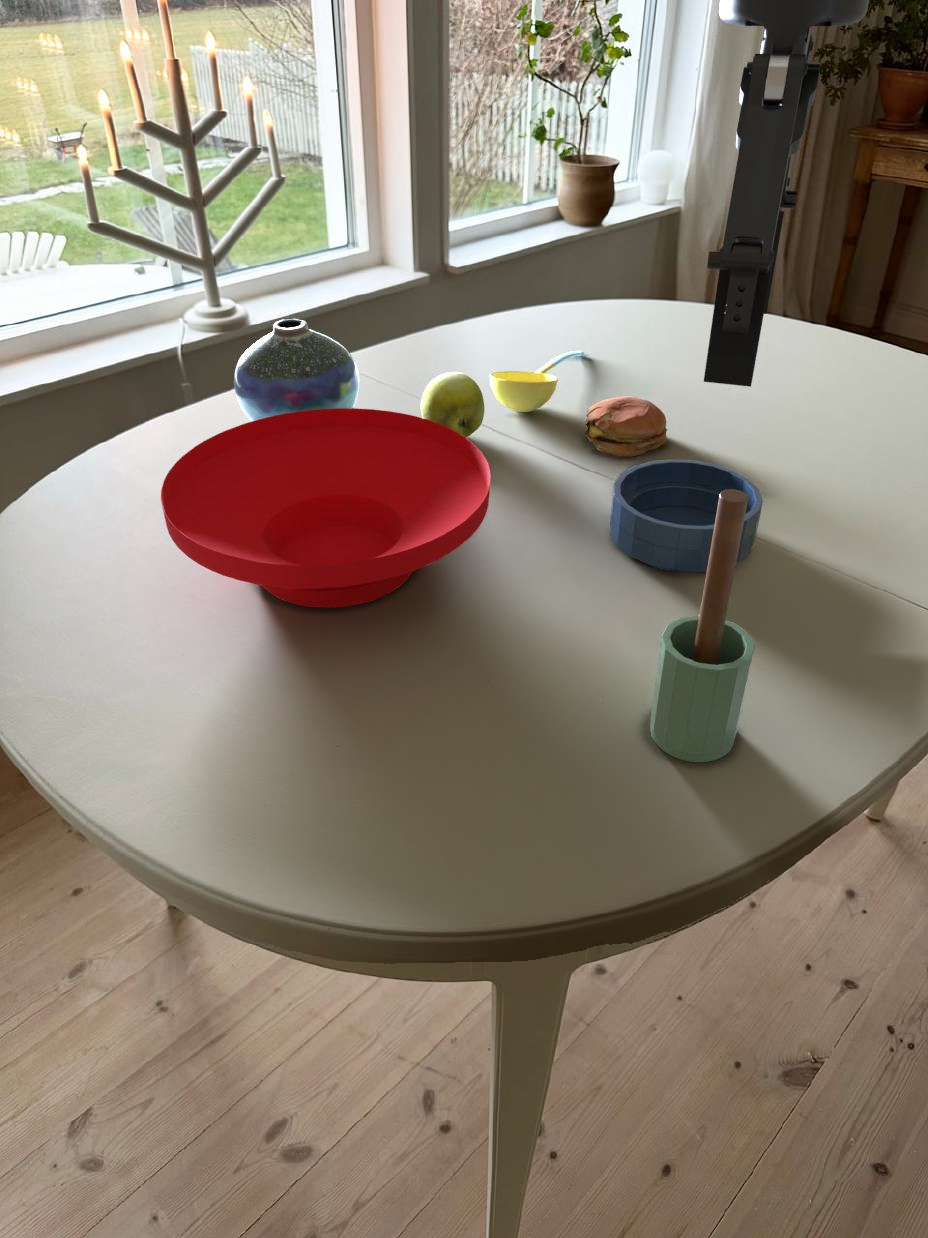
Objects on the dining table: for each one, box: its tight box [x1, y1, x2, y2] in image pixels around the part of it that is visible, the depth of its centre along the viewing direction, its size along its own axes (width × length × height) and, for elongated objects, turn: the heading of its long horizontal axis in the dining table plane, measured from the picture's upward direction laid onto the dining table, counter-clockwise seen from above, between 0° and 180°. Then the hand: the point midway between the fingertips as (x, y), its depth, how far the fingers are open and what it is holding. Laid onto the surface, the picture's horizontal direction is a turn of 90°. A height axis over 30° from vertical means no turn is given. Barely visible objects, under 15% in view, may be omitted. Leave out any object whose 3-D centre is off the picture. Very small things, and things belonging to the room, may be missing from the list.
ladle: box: [489, 350, 585, 413], centre depth 127 cm, size 9×26×6 cm, turn 154°
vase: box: [233, 318, 360, 422], centre depth 114 cm, size 15×15×13 cm
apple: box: [420, 371, 485, 438], centre depth 113 cm, size 8×9×8 cm
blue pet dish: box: [609, 458, 764, 573], centre depth 93 cm, size 14×14×6 cm
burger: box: [583, 395, 668, 458], centre depth 112 cm, size 10×9×5 cm
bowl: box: [160, 407, 492, 608], centre depth 89 cm, size 30×30×10 cm
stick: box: [692, 489, 748, 665], centre depth 65 cm, size 2×3×20 cm, turn 155°
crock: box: [649, 614, 756, 763], centre depth 69 cm, size 6×6×9 cm
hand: (737, 343), depth 59 cm, fingers open, 13 cm apart
